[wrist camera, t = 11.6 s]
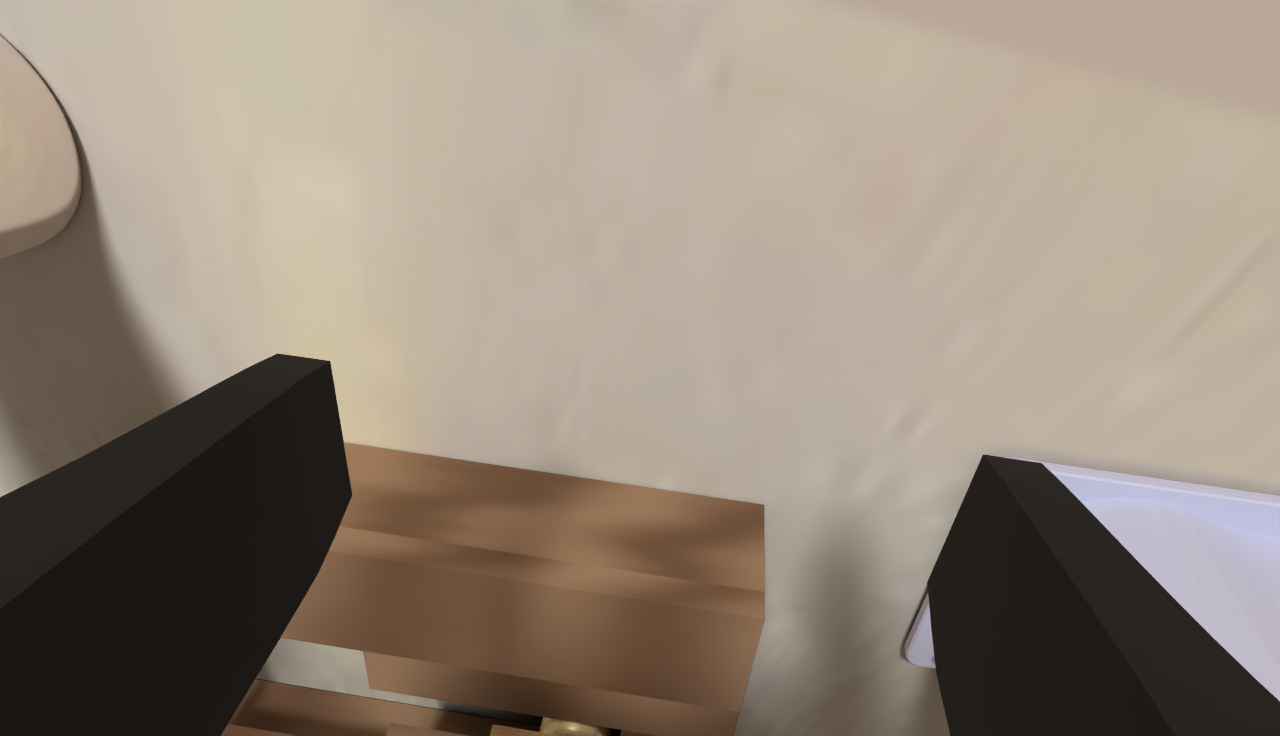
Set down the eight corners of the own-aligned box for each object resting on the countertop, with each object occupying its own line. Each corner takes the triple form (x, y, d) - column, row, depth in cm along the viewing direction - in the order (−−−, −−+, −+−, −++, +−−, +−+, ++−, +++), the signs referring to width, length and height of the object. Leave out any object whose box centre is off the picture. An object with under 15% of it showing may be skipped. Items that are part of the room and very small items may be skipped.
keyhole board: (763, 504, 22) (764, 619, 19) (698, 775, 30) (692, 886, 27) (166, 416, 23) (71, 511, 20) (259, 702, 31) (202, 801, 27)
